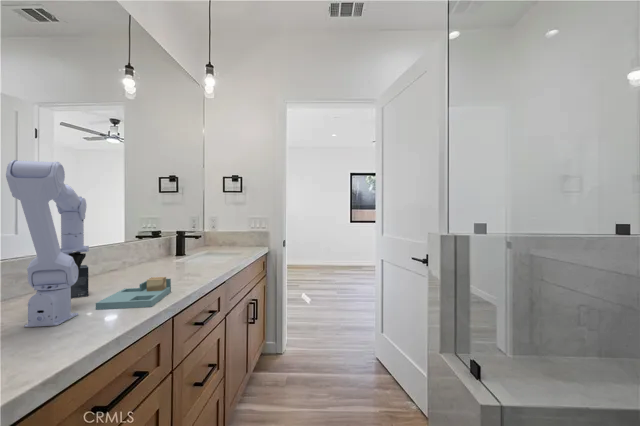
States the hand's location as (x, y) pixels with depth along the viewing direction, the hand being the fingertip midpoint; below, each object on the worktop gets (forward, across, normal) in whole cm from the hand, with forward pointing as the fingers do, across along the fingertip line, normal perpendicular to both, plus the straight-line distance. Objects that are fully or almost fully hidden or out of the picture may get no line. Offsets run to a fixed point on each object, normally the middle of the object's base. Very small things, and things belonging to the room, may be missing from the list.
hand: (72, 276), depth 103 cm
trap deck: (+9, +5, -17) cm, 20 cm away
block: (+7, +11, -21) cm, 25 cm away
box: (+10, +16, +7) cm, 20 cm away
